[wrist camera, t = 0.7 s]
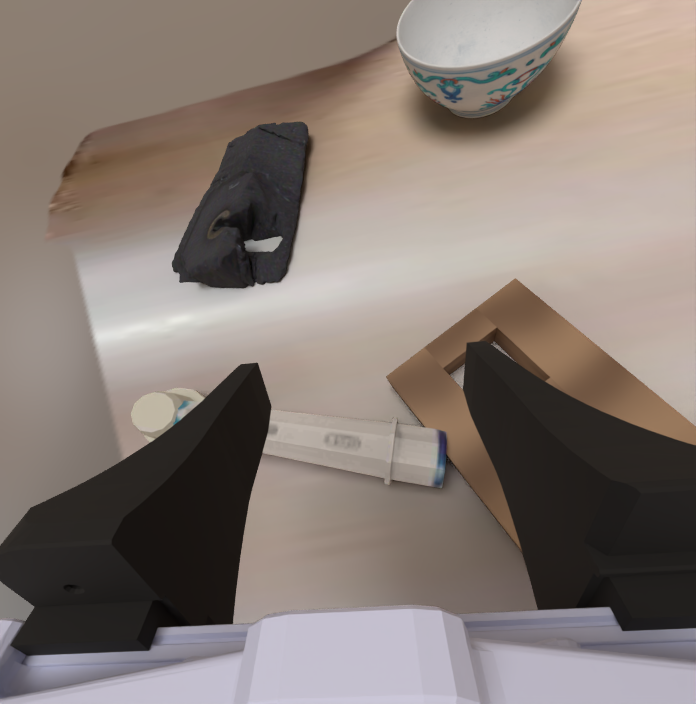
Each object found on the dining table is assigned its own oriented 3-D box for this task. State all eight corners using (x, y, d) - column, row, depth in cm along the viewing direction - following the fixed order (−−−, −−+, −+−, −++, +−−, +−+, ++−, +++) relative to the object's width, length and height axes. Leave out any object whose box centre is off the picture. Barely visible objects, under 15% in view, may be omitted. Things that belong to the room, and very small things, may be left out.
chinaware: (545, 28, 38) (562, -75, 31) (577, 125, 33) (608, 26, 26) (404, 72, 42) (393, -11, 35) (412, 165, 37) (400, 88, 30)
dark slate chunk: (334, 133, 43) (320, 93, 38) (283, 295, 36) (260, 269, 32) (229, 144, 48) (207, 110, 44) (168, 288, 41) (135, 264, 37)
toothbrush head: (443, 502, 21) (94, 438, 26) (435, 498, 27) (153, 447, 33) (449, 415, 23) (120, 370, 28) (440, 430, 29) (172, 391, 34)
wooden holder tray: (765, 512, 20) (803, 515, 18) (591, 641, 20) (607, 659, 18) (511, 295, 29) (515, 278, 26) (391, 386, 29) (385, 376, 27)
